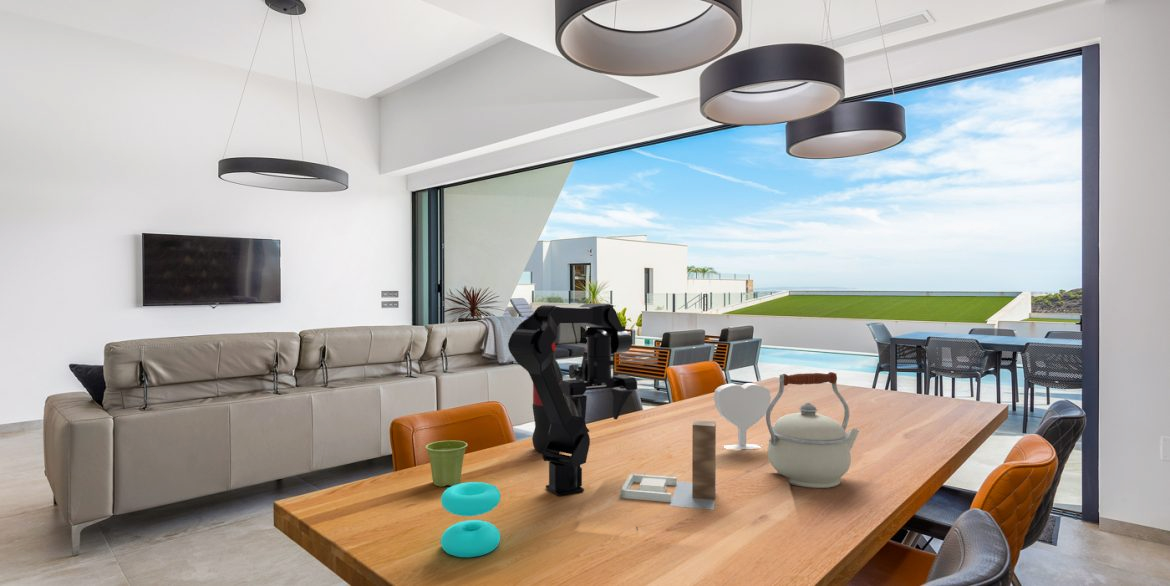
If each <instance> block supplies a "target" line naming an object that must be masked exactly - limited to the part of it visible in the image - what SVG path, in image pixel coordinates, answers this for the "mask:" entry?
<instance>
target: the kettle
mask: <svg viewBox="0 0 1170 586" xmlns="http://www.w3.org/2000/svg"><path fill="white" fill-rule="evenodd" d="M837 381H838V377H837V373H836V372H831V371H829V372H828V373H821V372H820V373H819V372H809V373H808V372H807V373H795V374H789V375H788V374H786V373H783V374H779V388H778V392H777V394H776V395H775V396H774V398H773V399H772V400H771V401H770V405H769V407H768V409H767V412H766V414H765V423H766V426H767V429H768V432H769V435H770V438H769V440H768V445H767V458H768V461H769V463H770V464H771V466H772V467H773V469H774V470H775V471H776V474H780V475H781V476H784V477H786V478H787V482H788V484H789V485H794V486H797V487H803V488H810V489H811V488H812V489H827V488H833V487H836V486H838V485H840V484H841V483H842V479H841V478H842V477H843V476H844V475H845V474H846V473H847V472H848V471H849V469H850V467H851V461H852V457H851V450H852V448H853V447H854V444H855V441H856V439H857V437H858V434H859V432H860V429H858V428H853V427H851V428H850V430H849V432H848V433H847V432H846V430H847V427H848V423H849V420H850V407H849V405H848V404H847V402H846V399H844V397H843V395H841V393H840V392H839V391H838V390H839V389H838V385H837ZM825 383H829V384H831V389H832V390H833V392H834V394H835V395H836V396H837V398H838V399H839V401H840V402H841V404H842V407H843V411H844V415H843V420H842V424H840V423H839V422H838V421H837V420H835V419H834V418H832V417H829V416H827V415H824V414H820V413H816V412H818V409H817V408H816V406H815V405H813V404H812V403H810V402H806V403H804V404H802V405H801V406H800V408H799V410H800V412H794V413H787V414H785V415H783V416H781V417H779V418H777V420H776V421H775V422H774V424H773V426H772V423H771V413H772V411H773V409H774V408H775V406H776V404H777V403H778V402H779V400H780V398H781V397H782V396H783V394H784V391H785V386H788V385H789V384H790V385H798V386H800V385H801V386H802V385H820V384H825Z"/></svg>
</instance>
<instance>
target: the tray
mask: <svg viewBox="0 0 1170 586" xmlns="http://www.w3.org/2000/svg"><path fill="white" fill-rule="evenodd" d="M643 478H655V479H666V486H676V485H677V482H678V479H677V477H675V476H663V475H652V474H651V475H650V474H638V473H630V474H629V476H628V477H627V479H626V480H625V482H624V484H623V485H622V487H621V489H620V498H621V499H632V500H642V501H652V502H653V501H655V502H662V503H663V502H665V503H671V500H672V492H665V493H663V492H651V491H640V489H637V490H635V489H631V487H632V485H633V484H634V483H639V484H640V483H641V481H642V479H643Z"/></svg>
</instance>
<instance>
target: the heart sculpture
mask: <svg viewBox="0 0 1170 586" xmlns="http://www.w3.org/2000/svg"><path fill="white" fill-rule="evenodd" d="M771 398H772V397H771V390H769V388H768V387H765V386H762V385H759V384H757V383H753V382H752V383H751V382H747V383H743V384H742V385H739V384H735V383H732V382H731V383H726V384H722V385H720V386H718V387H717V388H716V389H714V393H713V401H714V406H715V408H716V411H717V412H718V413H719V414H720V416H721V417H723V419H725V420H726V421H728V423H731V424H732V425H734V426H736V427H737V440H738V441H737V444H728V445H726V444H725V445H723V446H724V448H726V449H753V448H761V447H760V446H758V445H759V444H753V443H752V444H751V443H747V430H748V429H750V428H751V427H753V426H754V425H756V424H757V423H758V422H760V421H761V419H763V418H764V417H766V412H767V409H768V407H769V405H770V404H771V401H772V400H771Z"/></svg>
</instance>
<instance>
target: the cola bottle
mask: <svg viewBox="0 0 1170 586" xmlns="http://www.w3.org/2000/svg"><path fill="white" fill-rule="evenodd" d="M552 350H553V354H552V359H551V366H552V368H553V371H554V373H555V376H556V378H557V381H558V383H559V385H560V384H561V382H562V381H563V379H564V375H563V372H562V370H561V367H560V365H559V363H558V361H557V360H556V356H555V352H556V344H555V342H554V343H553V344H552ZM532 412H533V419H534V426H535V427H534V430H533V433H532V438H531V439H532V440H531V441H532V445H533V448H534V449H535V451H537V452H538V451H539V453H542V452H543V450H544V448H545V446H546V445H547V443H548V441H549V439H550V437H549V429H550V426H551V423H550V420H549V418H548V416H547V413H546V411H545V409H544V407H543V404H542V402H541V400H540V397H539V395H538V393H537V391H536V388H535V386H534V384H533V383H532Z"/></svg>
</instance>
